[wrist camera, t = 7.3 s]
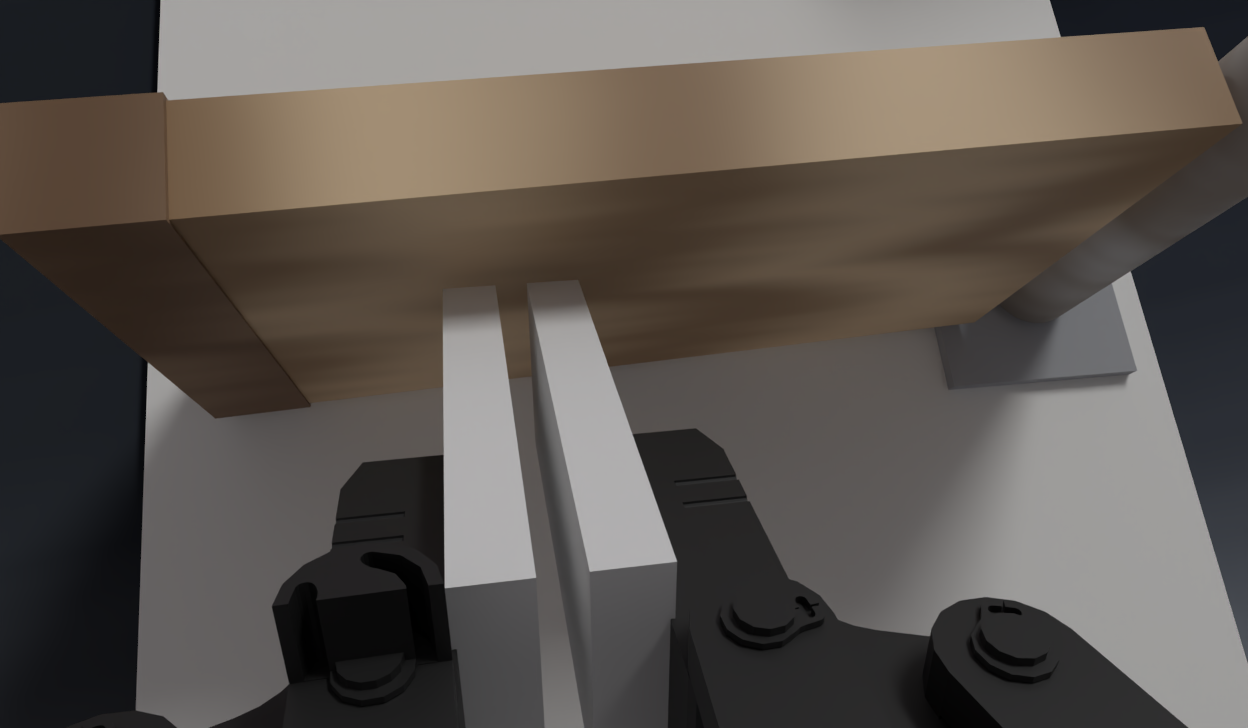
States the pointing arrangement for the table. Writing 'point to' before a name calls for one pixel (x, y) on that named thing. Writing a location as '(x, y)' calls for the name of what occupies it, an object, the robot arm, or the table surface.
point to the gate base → (710, 397)
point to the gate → (619, 204)
